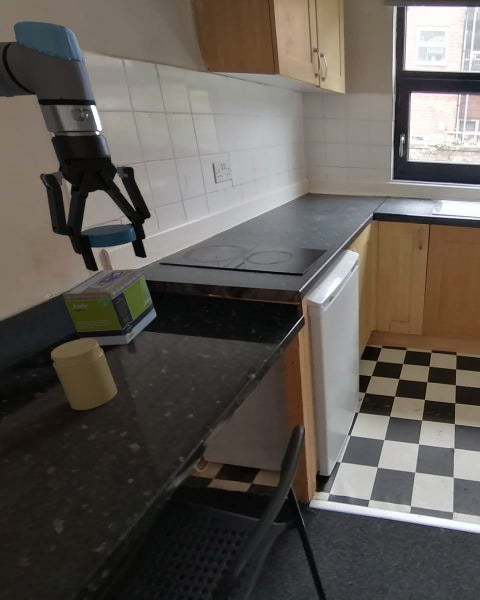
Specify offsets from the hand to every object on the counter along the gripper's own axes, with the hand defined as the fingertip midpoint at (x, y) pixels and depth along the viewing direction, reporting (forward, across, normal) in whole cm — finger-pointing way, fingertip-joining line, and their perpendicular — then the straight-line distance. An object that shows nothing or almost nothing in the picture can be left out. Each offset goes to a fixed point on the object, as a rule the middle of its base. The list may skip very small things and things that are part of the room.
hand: (118, 262), depth 77 cm
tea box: (+23, +5, +19) cm, 31 cm away
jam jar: (+23, -12, -2) cm, 26 cm away
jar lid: (-6, 0, 0) cm, 6 cm away
